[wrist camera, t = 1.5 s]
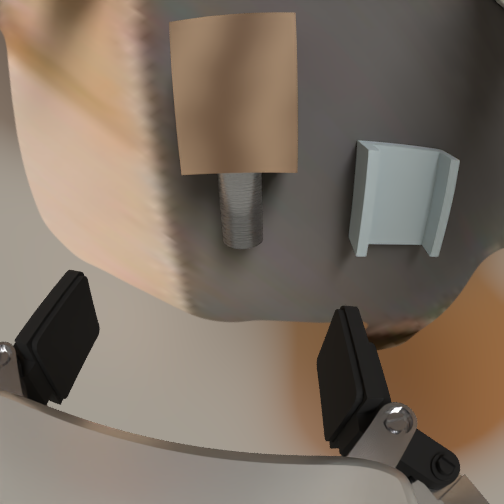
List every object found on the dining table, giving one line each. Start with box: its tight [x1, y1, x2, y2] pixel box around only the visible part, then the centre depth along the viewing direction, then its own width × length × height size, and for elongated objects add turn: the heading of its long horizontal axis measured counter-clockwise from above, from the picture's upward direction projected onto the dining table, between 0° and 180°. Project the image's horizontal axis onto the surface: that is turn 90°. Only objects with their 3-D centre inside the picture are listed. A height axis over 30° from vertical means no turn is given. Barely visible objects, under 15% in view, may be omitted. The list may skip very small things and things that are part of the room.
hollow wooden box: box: [169, 13, 298, 175], centre depth 21 cm, size 8×11×8 cm
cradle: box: [348, 140, 460, 257], centre depth 27 cm, size 9×10×4 cm
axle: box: [218, 173, 263, 249], centre depth 24 cm, size 17×4×4 cm, turn 2°
